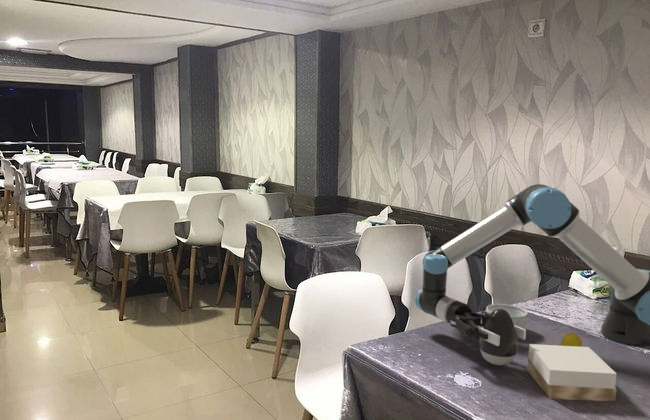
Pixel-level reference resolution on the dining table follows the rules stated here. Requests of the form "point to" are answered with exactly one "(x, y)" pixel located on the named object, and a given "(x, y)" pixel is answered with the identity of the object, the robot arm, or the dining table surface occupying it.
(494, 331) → the pump dispenser
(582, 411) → the dining table surface
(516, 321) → the ramekin
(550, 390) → the tower base
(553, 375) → the tower top
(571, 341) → the lemon
